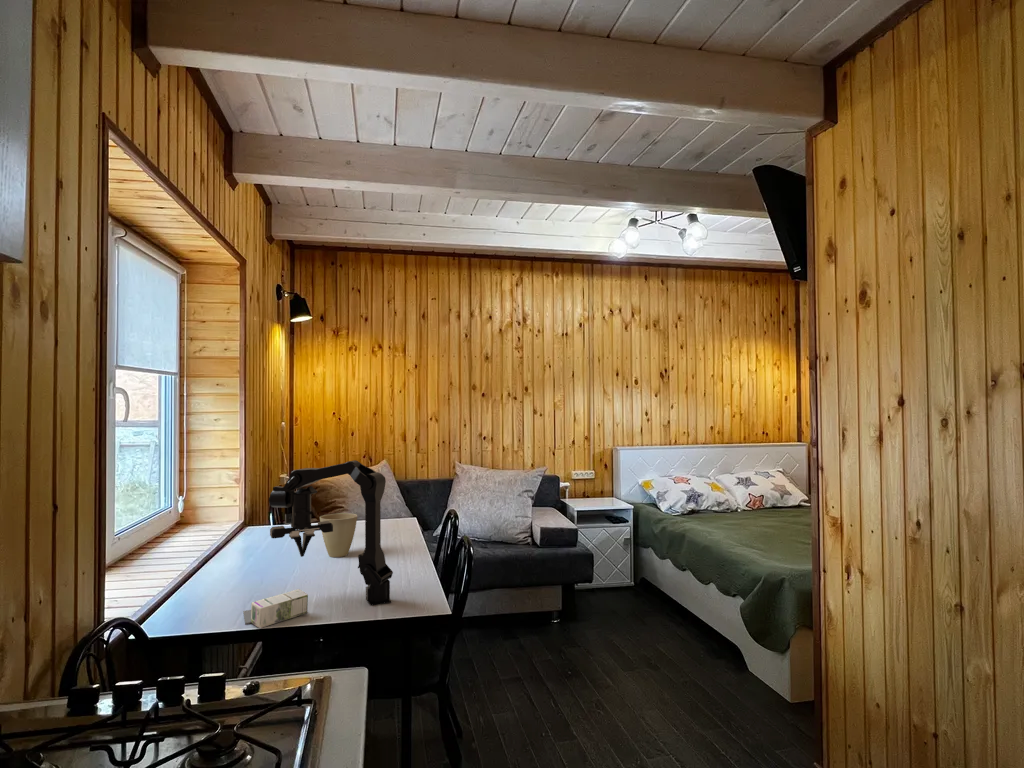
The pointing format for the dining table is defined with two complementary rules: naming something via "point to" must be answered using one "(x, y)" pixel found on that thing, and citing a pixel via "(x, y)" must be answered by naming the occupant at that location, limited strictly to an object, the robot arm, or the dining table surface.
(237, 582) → the dining table surface
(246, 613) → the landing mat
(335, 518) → the plant pot
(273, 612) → the syrup box
